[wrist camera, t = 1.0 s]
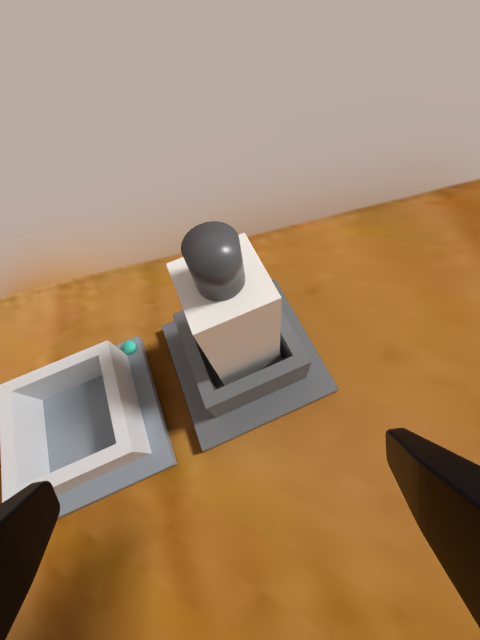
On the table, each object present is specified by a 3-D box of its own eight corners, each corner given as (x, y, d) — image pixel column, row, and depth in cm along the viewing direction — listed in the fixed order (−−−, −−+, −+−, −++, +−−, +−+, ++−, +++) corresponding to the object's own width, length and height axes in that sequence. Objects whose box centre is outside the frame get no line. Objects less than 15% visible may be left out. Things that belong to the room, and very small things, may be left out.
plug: (279, 367, 21) (282, 262, 10) (227, 390, 21) (174, 307, 10) (256, 322, 23) (239, 191, 12) (208, 342, 23) (146, 227, 12)
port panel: (177, 464, 20) (157, 464, 17) (32, 530, 19) (-20, 544, 16) (142, 339, 25) (120, 319, 21) (23, 389, 24) (-20, 376, 20)
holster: (336, 391, 21) (349, 374, 17) (205, 451, 20) (188, 448, 16) (275, 284, 26) (274, 251, 22) (164, 330, 25) (144, 304, 21)
